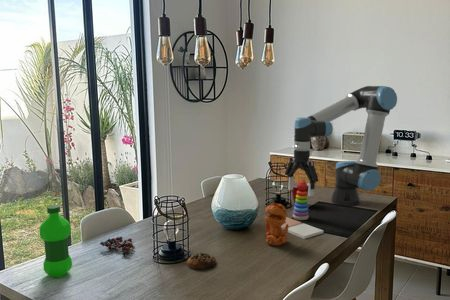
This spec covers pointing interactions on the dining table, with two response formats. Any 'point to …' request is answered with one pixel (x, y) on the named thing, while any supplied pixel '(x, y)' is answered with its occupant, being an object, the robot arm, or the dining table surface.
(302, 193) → the stacking toy
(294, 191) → the plastic cup
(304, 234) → the cream tile
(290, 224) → the terracotta tile
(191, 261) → the bread roll
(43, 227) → the plastic bottle
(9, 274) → the dining table surface
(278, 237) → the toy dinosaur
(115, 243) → the grape bunch
